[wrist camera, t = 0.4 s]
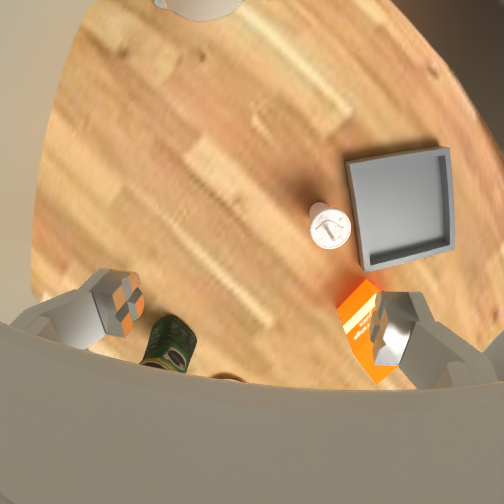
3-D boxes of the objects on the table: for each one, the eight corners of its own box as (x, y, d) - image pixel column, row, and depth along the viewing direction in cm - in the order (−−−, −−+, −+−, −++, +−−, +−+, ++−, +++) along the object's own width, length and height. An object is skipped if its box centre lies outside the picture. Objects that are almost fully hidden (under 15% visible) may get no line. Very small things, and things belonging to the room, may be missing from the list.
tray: (343, 161, 52) (349, 164, 49) (439, 145, 50) (449, 147, 46) (359, 264, 59) (364, 272, 56) (446, 242, 57) (454, 249, 54)
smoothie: (302, 194, 54) (316, 216, 41) (338, 195, 54) (362, 217, 41) (300, 229, 57) (313, 261, 44) (335, 229, 57) (357, 261, 44)
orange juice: (389, 297, 62) (427, 358, 43) (360, 326, 65) (388, 392, 46) (365, 278, 60) (402, 339, 42) (335, 309, 63) (360, 376, 45)
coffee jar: (148, 326, 66) (120, 385, 49) (172, 309, 64) (147, 369, 47) (178, 355, 69) (160, 416, 51) (203, 339, 67) (189, 403, 49)
